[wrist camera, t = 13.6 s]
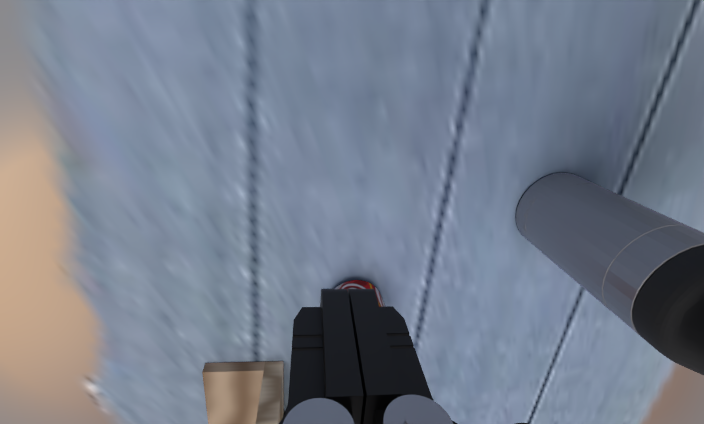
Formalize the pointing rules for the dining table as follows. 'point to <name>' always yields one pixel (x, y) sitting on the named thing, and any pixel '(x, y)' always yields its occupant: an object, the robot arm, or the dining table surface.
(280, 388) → the tan wooden stepped bar
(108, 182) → the dining table surface
